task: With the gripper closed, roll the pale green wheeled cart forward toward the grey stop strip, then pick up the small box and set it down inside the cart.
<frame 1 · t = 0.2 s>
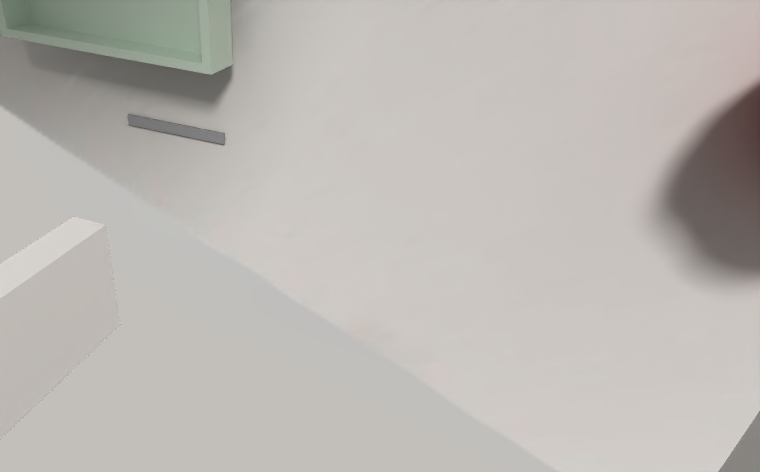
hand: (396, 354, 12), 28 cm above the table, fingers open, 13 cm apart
stop strip: (176, 128, 43), on the table
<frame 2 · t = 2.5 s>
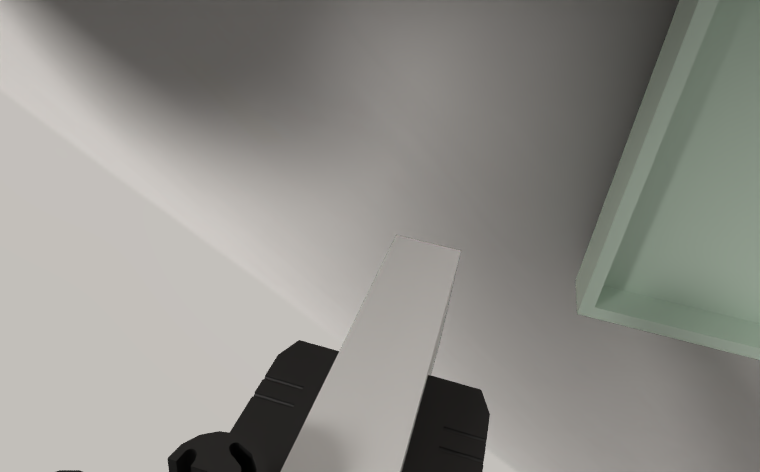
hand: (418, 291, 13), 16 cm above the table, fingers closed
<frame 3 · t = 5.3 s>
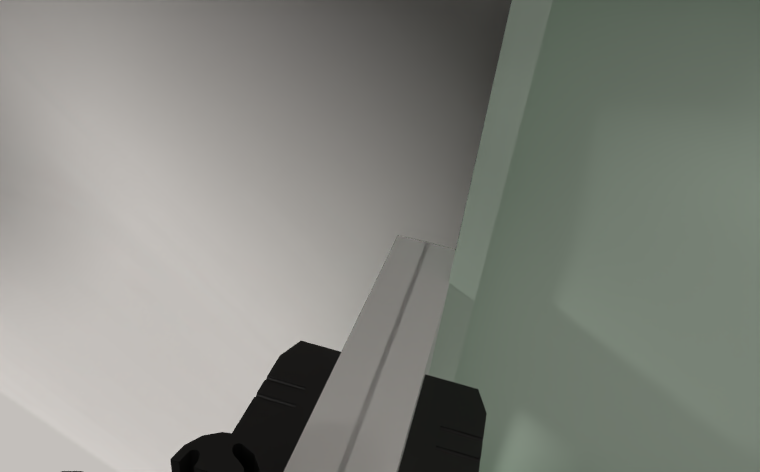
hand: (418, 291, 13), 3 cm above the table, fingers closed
cart: (737, 292, 15), on the table, touching gripper
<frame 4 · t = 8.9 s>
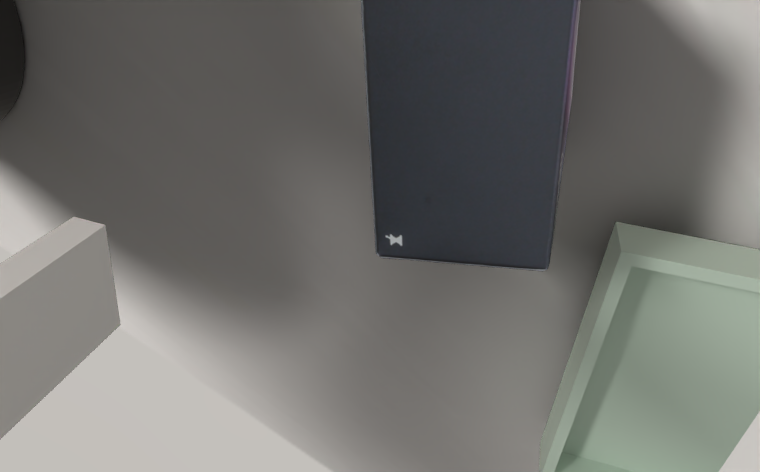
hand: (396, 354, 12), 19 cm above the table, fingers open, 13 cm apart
cart: (707, 359, 31), on the table
small box: (494, 52, 26), on the table
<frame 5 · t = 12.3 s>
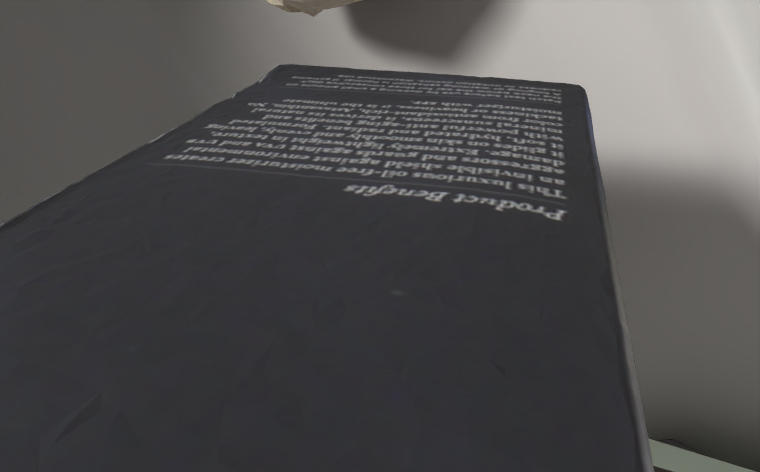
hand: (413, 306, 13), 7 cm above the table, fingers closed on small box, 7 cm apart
small box: (420, 292, 13), point 6 cm above the table, touching gripper
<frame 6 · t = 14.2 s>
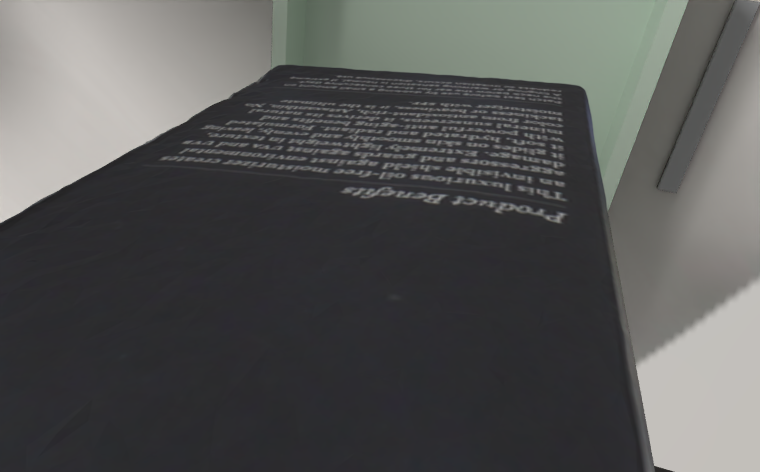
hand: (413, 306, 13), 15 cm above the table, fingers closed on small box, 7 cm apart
cart: (453, 103, 26), on the table
small box: (420, 294, 13), point 15 cm above the table, touching gripper
stop strip: (703, 103, 24), on the table
when the fingers open (4 cm above the table, at t = 16.5 s): small box drops 2 cm, resting on cart.
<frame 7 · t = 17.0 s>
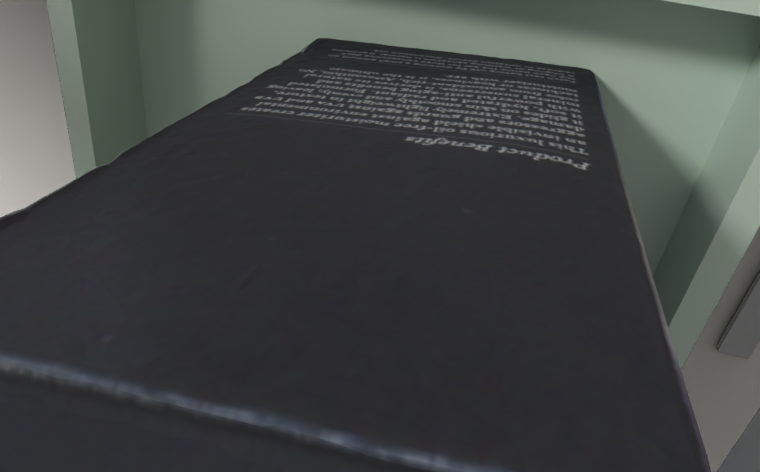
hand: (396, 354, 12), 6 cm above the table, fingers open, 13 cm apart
cart: (398, 210, 17), on the table, touching small box
small box: (431, 256, 15), point 2 cm above the table, touching cart
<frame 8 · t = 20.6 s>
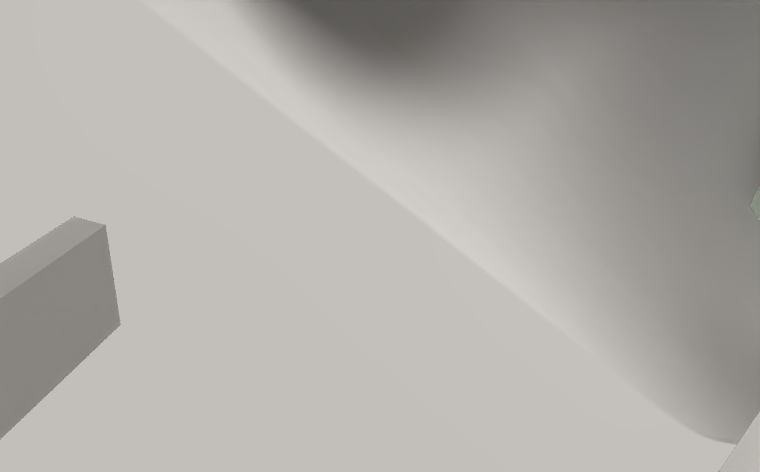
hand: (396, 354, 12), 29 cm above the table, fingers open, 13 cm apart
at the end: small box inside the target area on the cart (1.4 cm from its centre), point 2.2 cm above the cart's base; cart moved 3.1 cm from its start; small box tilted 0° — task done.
